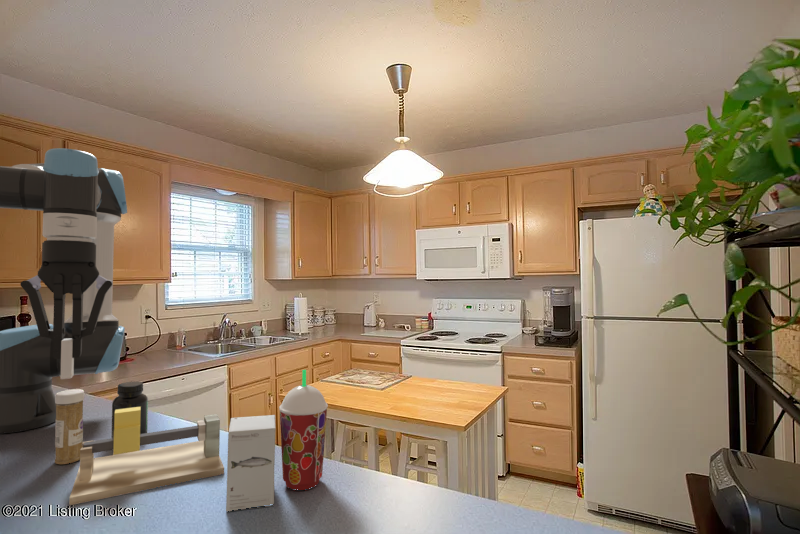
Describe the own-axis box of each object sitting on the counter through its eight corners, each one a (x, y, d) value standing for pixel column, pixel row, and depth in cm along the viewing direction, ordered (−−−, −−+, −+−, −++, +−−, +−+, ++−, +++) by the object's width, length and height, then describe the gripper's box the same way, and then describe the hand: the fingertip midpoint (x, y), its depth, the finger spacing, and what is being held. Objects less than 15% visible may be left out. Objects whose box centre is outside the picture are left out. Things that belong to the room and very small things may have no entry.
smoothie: (336, 480, 80) (337, 368, 80) (304, 500, 73) (305, 377, 73) (301, 469, 84) (303, 363, 85) (267, 487, 77) (269, 371, 77)
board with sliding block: (81, 466, 84) (82, 423, 84) (212, 444, 96) (212, 406, 96) (69, 505, 70) (70, 453, 71) (224, 474, 82) (224, 429, 82)
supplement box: (224, 513, 69) (226, 431, 69) (229, 491, 76) (230, 416, 76) (274, 507, 71) (275, 427, 71) (274, 485, 78) (275, 413, 78)
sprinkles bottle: (82, 462, 86) (83, 392, 86) (52, 467, 84) (54, 395, 84) (83, 453, 90) (84, 387, 90) (55, 458, 88) (56, 390, 88)
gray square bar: (84, 451, 79) (84, 442, 79) (212, 431, 89) (212, 423, 89) (83, 454, 77) (83, 445, 77) (213, 434, 88) (213, 425, 88)
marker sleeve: (114, 446, 82) (115, 408, 82) (139, 442, 84) (140, 405, 84) (113, 454, 78) (114, 414, 78) (139, 450, 80) (140, 411, 80)
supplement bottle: (154, 433, 102) (155, 380, 102) (133, 444, 95) (134, 388, 95) (126, 431, 103) (127, 379, 103) (103, 443, 96) (104, 387, 96)
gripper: (15, 237, 71) (12, 386, 70) (113, 240, 77) (110, 377, 77) (26, 240, 77) (23, 376, 77) (115, 243, 84) (113, 369, 83)
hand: (67, 377), depth 77 cm, fingers closed
